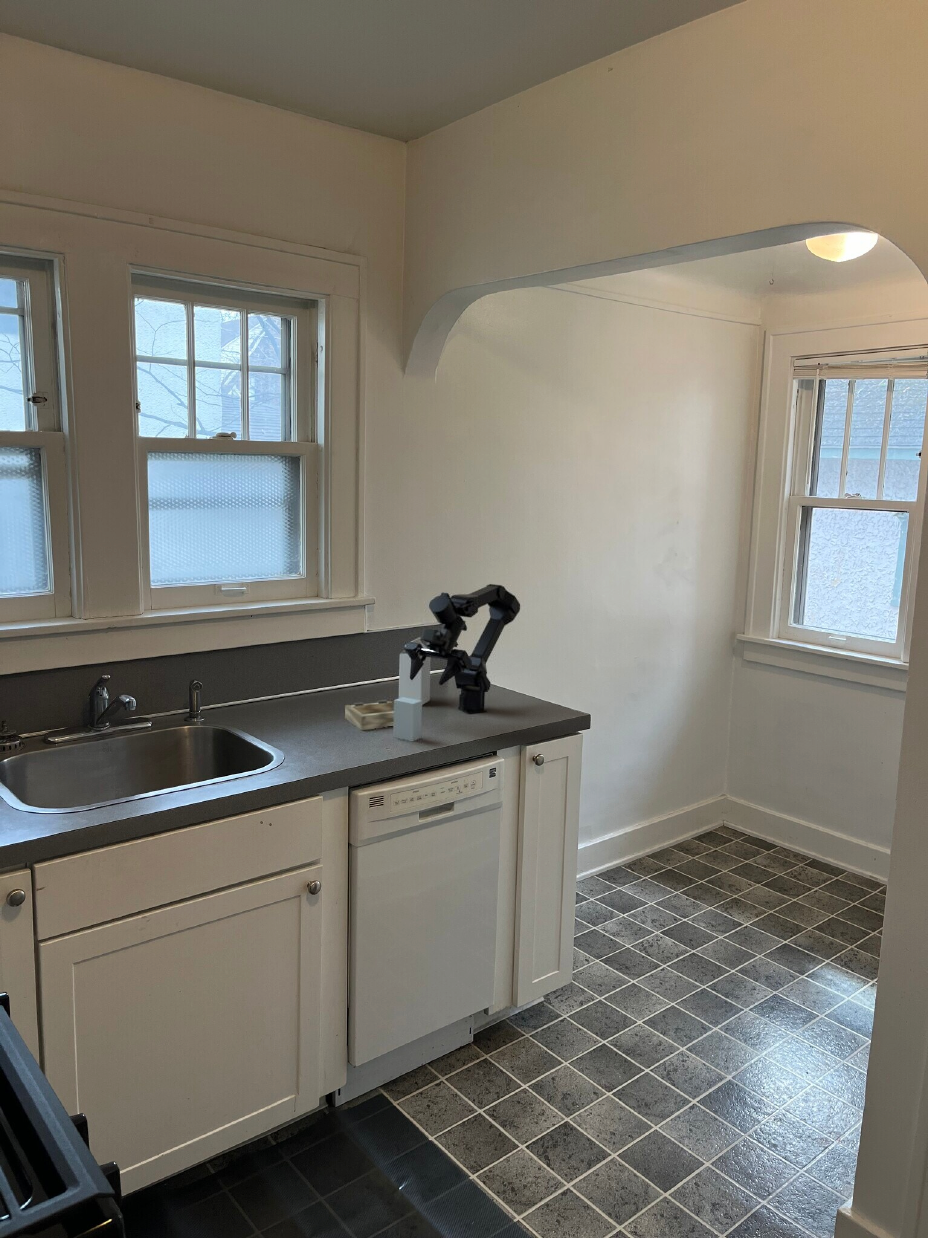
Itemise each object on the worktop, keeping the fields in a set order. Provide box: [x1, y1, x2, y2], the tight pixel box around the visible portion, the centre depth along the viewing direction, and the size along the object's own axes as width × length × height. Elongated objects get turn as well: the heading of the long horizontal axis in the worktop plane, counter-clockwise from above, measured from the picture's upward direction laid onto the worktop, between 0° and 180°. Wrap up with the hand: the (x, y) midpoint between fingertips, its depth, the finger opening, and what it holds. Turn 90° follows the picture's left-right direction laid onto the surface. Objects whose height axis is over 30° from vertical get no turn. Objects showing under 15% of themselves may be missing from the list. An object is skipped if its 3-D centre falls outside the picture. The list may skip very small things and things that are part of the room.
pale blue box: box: [392, 697, 423, 742], centre depth 240 cm, size 4×6×10 cm, turn 59°
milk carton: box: [398, 637, 432, 706], centre depth 274 cm, size 7×7×19 cm
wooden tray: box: [344, 699, 394, 731], centre depth 254 cm, size 14×12×4 cm
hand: (425, 681), depth 245 cm, fingers open, 9 cm apart
